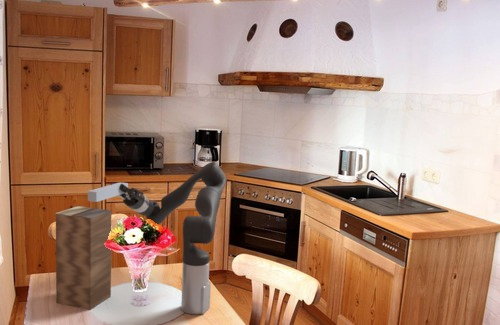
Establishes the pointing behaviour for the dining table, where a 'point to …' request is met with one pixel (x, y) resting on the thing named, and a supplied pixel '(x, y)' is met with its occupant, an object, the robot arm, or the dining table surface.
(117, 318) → the dining table surface
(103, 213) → the wooden block
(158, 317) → the dining table surface
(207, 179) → the robot arm
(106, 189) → the lever
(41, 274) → the dining table surface
